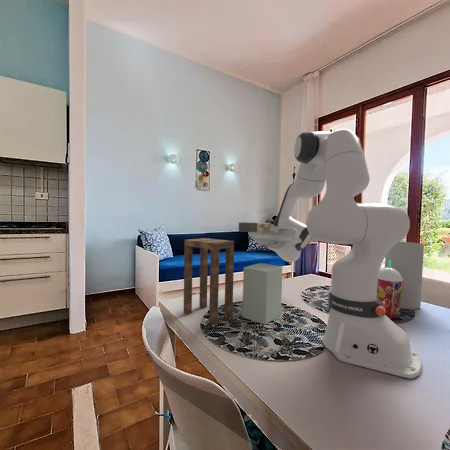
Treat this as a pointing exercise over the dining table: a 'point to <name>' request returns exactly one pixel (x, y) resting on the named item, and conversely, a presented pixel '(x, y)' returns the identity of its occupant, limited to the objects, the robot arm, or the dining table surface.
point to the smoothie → (390, 290)
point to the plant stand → (214, 275)
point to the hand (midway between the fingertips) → (265, 225)
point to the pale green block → (262, 292)
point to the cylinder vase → (408, 271)
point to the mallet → (253, 227)
